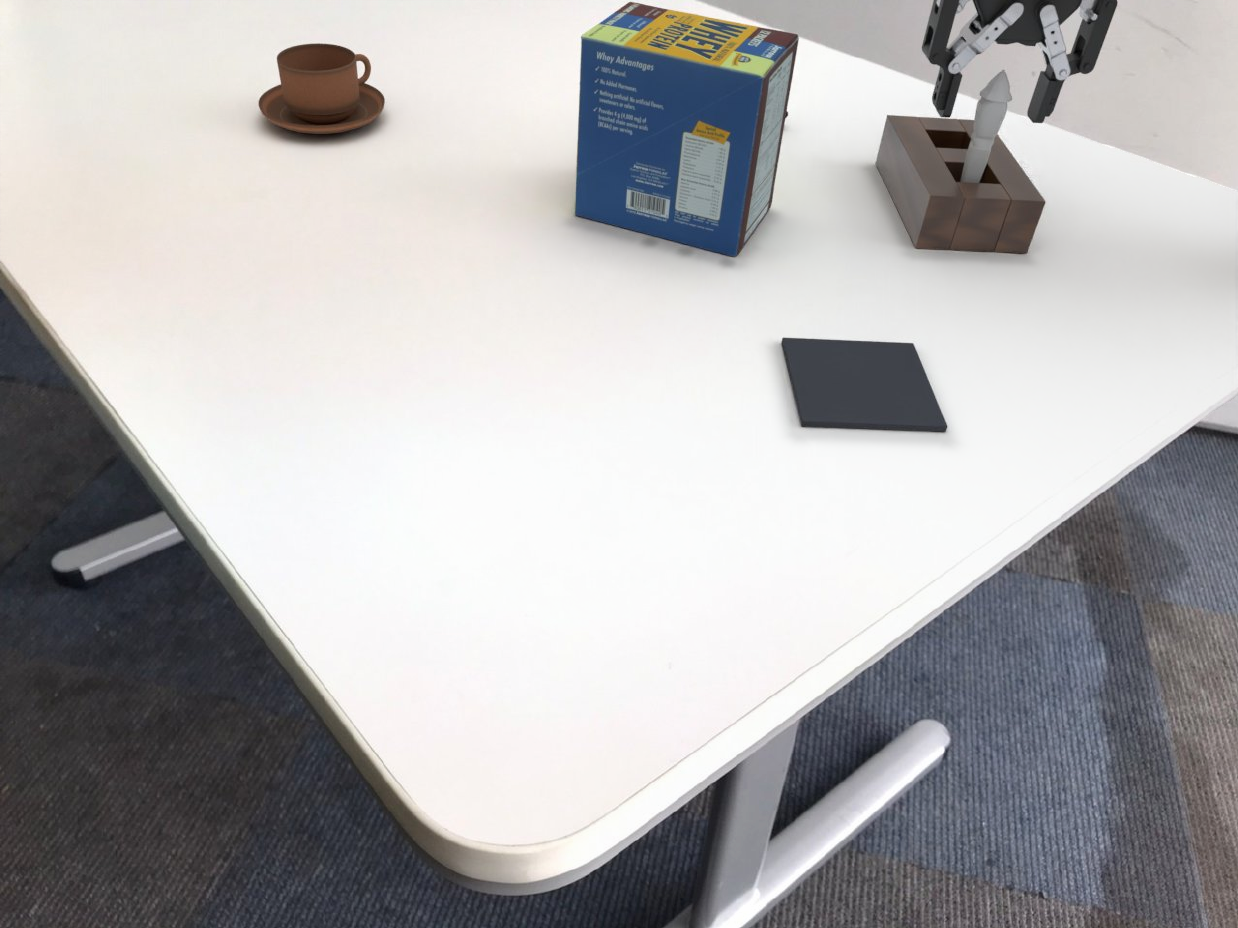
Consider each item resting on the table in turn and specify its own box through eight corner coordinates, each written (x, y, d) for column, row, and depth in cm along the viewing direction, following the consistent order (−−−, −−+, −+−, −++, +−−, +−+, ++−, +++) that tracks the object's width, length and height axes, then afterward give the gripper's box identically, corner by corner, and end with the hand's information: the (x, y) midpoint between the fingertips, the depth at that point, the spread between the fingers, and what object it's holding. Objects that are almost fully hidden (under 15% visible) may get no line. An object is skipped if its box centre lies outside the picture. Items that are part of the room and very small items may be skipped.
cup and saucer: (306, 88, 107) (298, 27, 103) (408, 110, 104) (403, 49, 100) (236, 129, 98) (224, 65, 94) (344, 155, 96) (336, 90, 92)
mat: (911, 348, 77) (913, 342, 77) (945, 432, 70) (948, 426, 69) (781, 342, 77) (782, 337, 76) (801, 426, 69) (802, 420, 69)
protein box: (617, 170, 97) (628, -1, 87) (772, 208, 93) (802, 33, 83) (570, 216, 89) (577, 35, 79) (737, 259, 86) (766, 74, 75)
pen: (973, 232, 92) (1023, 77, 83) (943, 228, 92) (989, 73, 83) (969, 219, 94) (1017, 66, 85) (939, 215, 94) (985, 62, 85)
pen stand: (973, 168, 102) (988, 120, 99) (1027, 254, 90) (1046, 201, 86) (875, 163, 102) (887, 114, 98) (915, 248, 89) (930, 195, 86)
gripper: (975, -93, 72) (916, 130, 83) (1170, -79, 73) (1086, 140, 84) (948, -117, 78) (896, 95, 89) (1129, -104, 79) (1055, 104, 90)
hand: (988, 116), depth 86 cm, fingers open, 7 cm apart
